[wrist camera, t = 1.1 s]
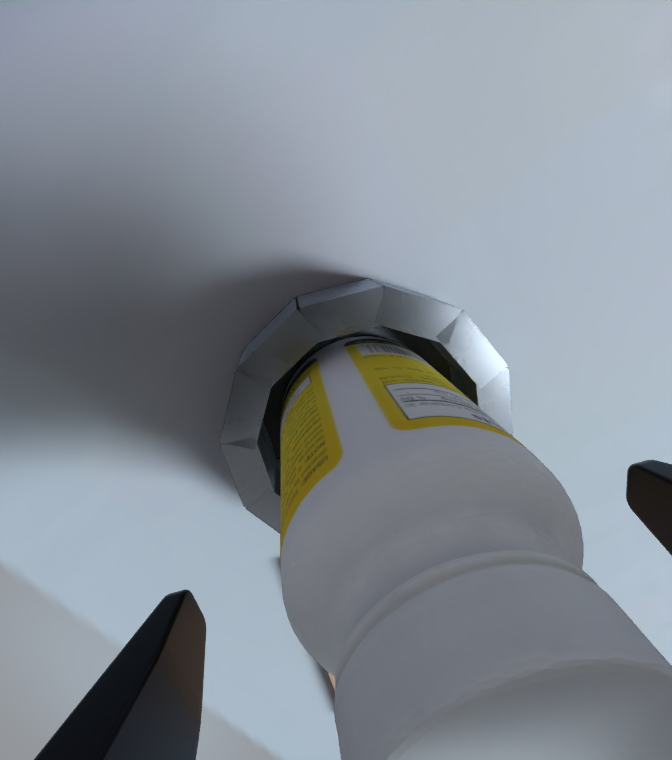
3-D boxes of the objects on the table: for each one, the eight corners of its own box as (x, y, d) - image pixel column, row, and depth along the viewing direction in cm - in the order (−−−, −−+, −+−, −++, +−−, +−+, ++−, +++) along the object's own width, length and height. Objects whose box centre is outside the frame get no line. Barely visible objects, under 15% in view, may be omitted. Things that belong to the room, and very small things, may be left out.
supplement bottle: (319, 499, 14) (380, 962, 5) (252, 373, 12) (158, 763, 3) (454, 441, 14) (764, 811, 5) (409, 305, 12) (781, 506, 3)
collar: (489, 478, 15) (518, 512, 13) (275, 538, 15) (274, 582, 13) (466, 253, 12) (500, 255, 10) (194, 322, 12) (176, 338, 10)
